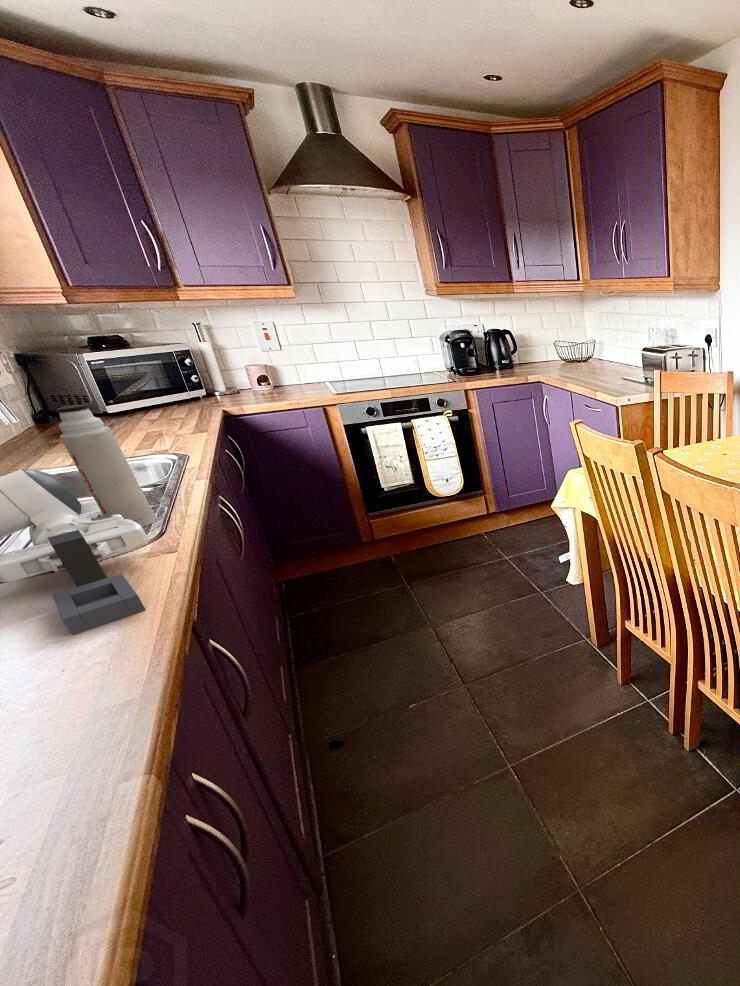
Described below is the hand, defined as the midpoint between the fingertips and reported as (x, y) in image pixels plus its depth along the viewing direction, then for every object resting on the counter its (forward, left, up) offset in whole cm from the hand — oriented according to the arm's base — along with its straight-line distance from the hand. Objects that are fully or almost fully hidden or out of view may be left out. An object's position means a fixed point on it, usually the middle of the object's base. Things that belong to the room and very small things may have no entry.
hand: (79, 560), depth 105 cm
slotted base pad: (+9, -7, -6) cm, 13 cm away
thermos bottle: (-24, +31, -6) cm, 40 cm away
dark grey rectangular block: (-1, +1, -6) cm, 6 cm away
